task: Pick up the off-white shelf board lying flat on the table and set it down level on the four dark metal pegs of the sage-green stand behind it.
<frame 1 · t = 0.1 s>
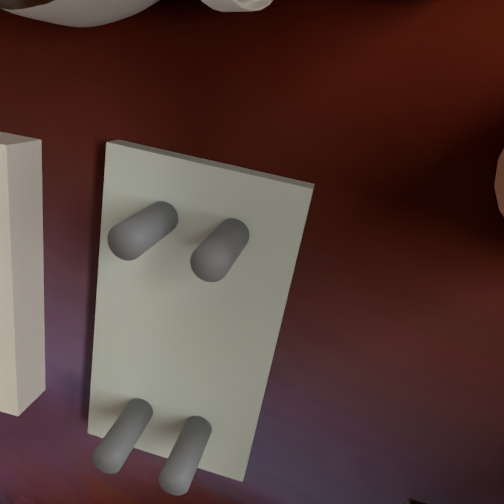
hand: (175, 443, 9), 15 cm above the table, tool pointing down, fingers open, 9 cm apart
shelf board: (2, 264, 27), on the table
peg stand: (189, 320, 25), on the table
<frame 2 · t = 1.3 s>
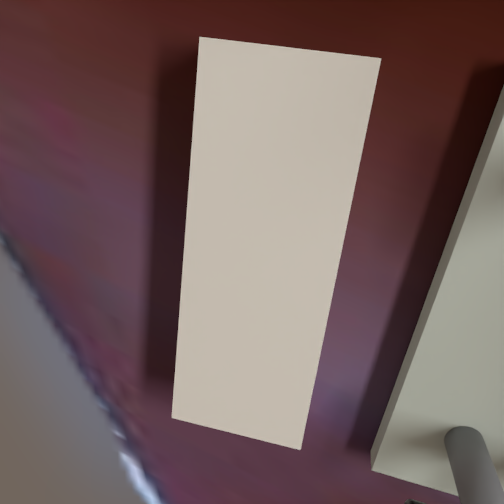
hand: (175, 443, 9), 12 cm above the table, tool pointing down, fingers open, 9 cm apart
shelf board: (269, 247, 20), on the table
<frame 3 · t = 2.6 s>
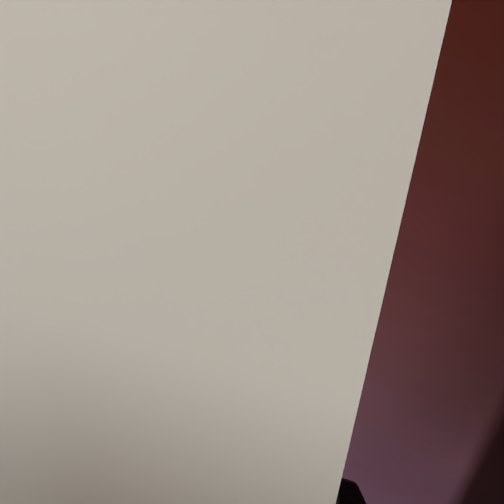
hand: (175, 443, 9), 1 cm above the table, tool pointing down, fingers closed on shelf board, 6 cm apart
shelf board: (196, 400, 10), on the table, touching gripper
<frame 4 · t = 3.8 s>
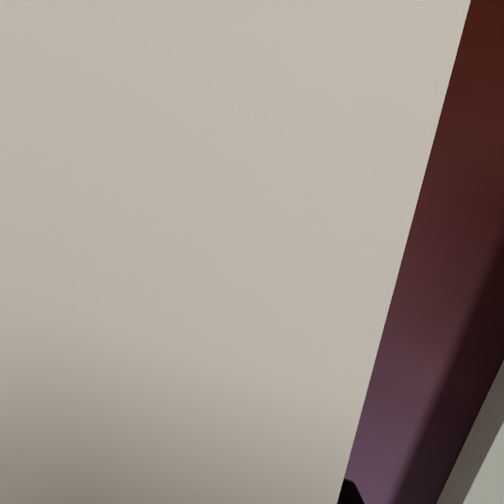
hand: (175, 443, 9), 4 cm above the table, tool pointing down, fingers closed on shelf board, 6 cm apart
shelf board: (197, 399, 10), point 3 cm above the table, touching gripper
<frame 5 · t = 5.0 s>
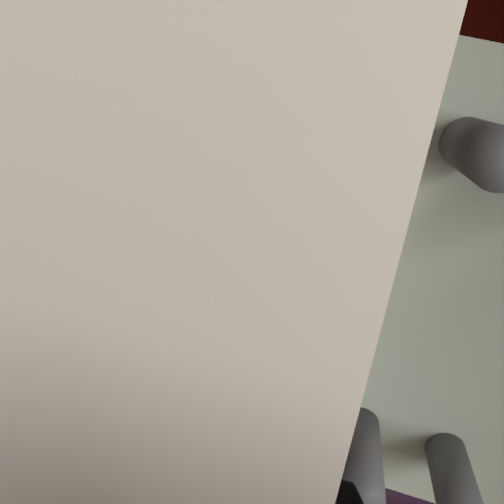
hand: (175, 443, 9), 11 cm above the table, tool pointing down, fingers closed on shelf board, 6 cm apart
shelf board: (196, 398, 10), point 9 cm above the table, touching gripper
peg stand: (447, 299, 18), on the table
when the fingers open (7 cm above the table, at t = 6.8 s): shelf board stays where it is, resting on peg stand.
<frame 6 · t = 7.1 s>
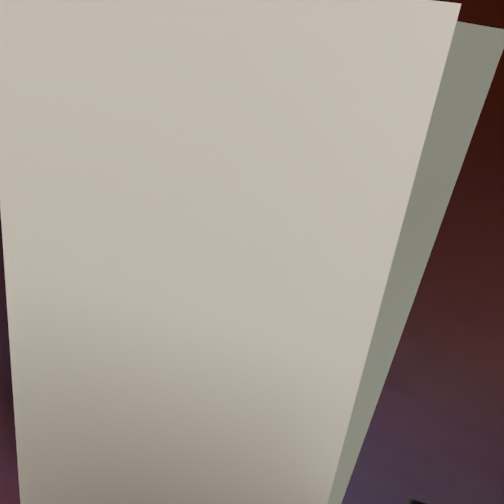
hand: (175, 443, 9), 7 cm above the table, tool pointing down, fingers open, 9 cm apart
shelf board: (208, 376, 11), point 5 cm above the table, touching peg stand
peg stand: (251, 289, 16), on the table
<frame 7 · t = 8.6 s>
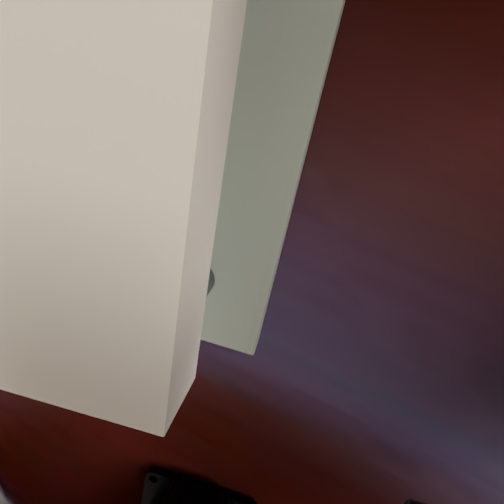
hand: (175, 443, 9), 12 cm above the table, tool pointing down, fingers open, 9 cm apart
shelf board: (131, 142, 14), point 5 cm above the table, touching peg stand
peg stand: (188, 126, 19), on the table
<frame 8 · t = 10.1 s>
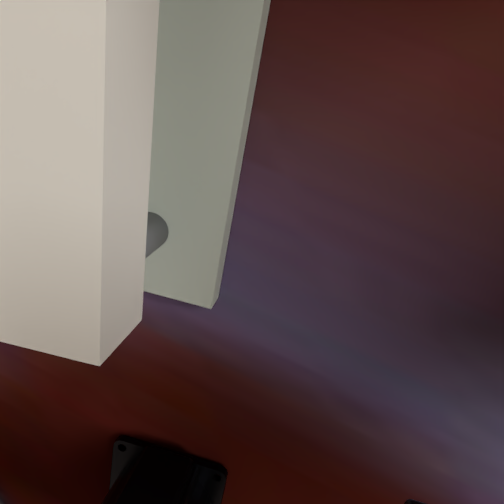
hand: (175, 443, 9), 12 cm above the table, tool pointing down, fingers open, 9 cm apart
shelf board: (63, 72, 14), point 5 cm above the table, touching peg stand
peg stand: (136, 76, 19), on the table
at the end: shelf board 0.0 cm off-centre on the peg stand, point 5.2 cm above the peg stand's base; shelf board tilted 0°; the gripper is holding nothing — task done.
